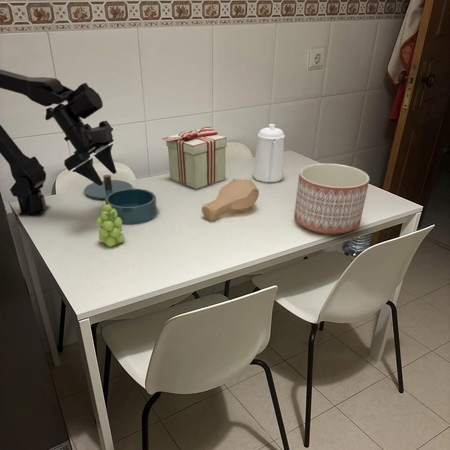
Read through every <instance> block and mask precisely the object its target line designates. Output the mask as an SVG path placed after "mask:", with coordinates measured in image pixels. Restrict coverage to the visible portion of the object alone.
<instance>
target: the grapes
mask: <svg viewBox="0 0 450 450" xmlns="http://www.w3.org/2000/svg"><path fill="white" fill-rule="evenodd" d="M104 202H105V204H104V205H103V206H102V208H101V209H100V210H99V214H100V215H99V217H97V219H96V225H97V226H98V227H99V230H98V234H99V236H98V240H99V241H100V242H101V243H103V244H105V246H108V247H114V246H118V245H119V244H121V243H123V242H124V240H125V235H124V234H123V233H122V232H121V231H122V230H123V227H122V225H123V224H122V219H121V218H120V217H117V215H118V213H117V211H116V210H115V209H114V208H112V206H111V205H110V204H108V200H105V199H104Z"/></svg>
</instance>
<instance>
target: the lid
mask: <svg viewBox="0 0 450 450" xmlns="http://www.w3.org/2000/svg"><path fill="white" fill-rule="evenodd" d="M102 177H103V178H102V179H103V180H101V181H102V183H103V184H102V185H101V186H99V185H97V184H96V183H94V182H92V183H90V184H87V185H86V186H85V187H84V194H85V195H86V196H88V197H90V198H93V199H97V200H105V199H106V197H107V196H108V195H109V194H111V193H112V192H115V191H118V190H123V189H134V188H133V185H132V184H131V183H130V182H127V181H125V180H119V179H112V176H111V174H104V175H103V176H102Z"/></svg>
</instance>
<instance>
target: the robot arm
mask: <svg viewBox="0 0 450 450" xmlns="http://www.w3.org/2000/svg"><path fill="white" fill-rule="evenodd" d="M0 89H2V90H5V91H10V92H13V93H17V94H20V95H23V96H25V97H27V98H28V99H29V100H30V101H32V102H34V103H35V104H38V105H40V106H42V107H48V108H46V109H45V120H46V121H50V120H51V119H54V121H55V122H56V123H57V125H58V126H59V128H60V129H61V131H62V132H63V134H64V137H63V140H64V141H65V142H68V141H69V143H70V144H71V146H72V147H73V148H74V151H73V154H72V155H70V156H68V157H67V158H66V159H64V162H63V163H64V164H63V165H64V167H65V168H66V170H67V171H68V172H70V171H72V173H77V174H78V175H80V176H82V177H84V178H86V179H87V180H89V181H90V182H92V183H96V184H97V185H99V186H101V185H102V184H103V183H102V181H103V180H102V179H101V177H100V176H99V174H98V171H97V170H96V169H95V167H94V158H93V157H92V158H91V155H92V154H94V155H93V156H94V157H95V159H97V160H98V161H99V162H100V163H101V164H102V165H103V167H105V168H106V170H108V171H109V172H111V174H113V175H115V174H117V168H116V165H115V162H114V158H113V155H112V148H113V146H114V143H113V142H115V141H114V139H113V138H114V136H113V131H114V128H113V127H112V126H111V124H110V123H109V121H107V120H102V121H100V122H99V123H98V126H96V127H91V125H90V124H89V123H84V122H83V120H82V119H84V120H85V119H88V118H89V117H90V116H92V115H94V113H96V112H97V111H99V110H100V109H102V108H103V107H104V106H103V103H104V102H103V100H102V97H101V95H100V94H99V92H96V90H95V89H94V88H92V87H90V86H89V85H88V83H87V82H84V83H81V84H80V85H79V86H78V87H77V88H76V89H75V90H73V89H71V88H70V87H68V86H66V85H63V84H62V82H61V80H59V79H58V78H55V77H45V76H39V77H38V76H35V77H33V76H27V75H22V74H19V73H15V72H12V71H9V70H4V69H1V68H0ZM65 102H67V103H66V104H64V103H65ZM52 105H56V106H54V107H51V106H52ZM0 155H1V156H2V158H3V159H4V160H5V161H6V162H7V164H8V166H9V168H10V173H11V176H12V178H13V180H14V183H13V185H12V186H11V187H10V188H9V191H10V193H11V195H12V196H13V197H16V198H17V202H18V206H19V210H20V211H19V213H18V215H19V216H41V215H43V213H44V212H45V210H46V209H47V208H48V206H47V203H46V199H45V195H44V194H43V193H42V190H41V189H43V188H44V183H45V182H46V180H47V173H46V171H45V167H44V166H43V165H42V164H41V163H40V161H39V160H38V159H37V157H36V156H32V157H29V156H27V155H26V154H24V153H23V151H22V150H21V148H19V146H18V145H17V144H16V142H15V141H14V140H13V139H12V137H11V136H10V135H9V134H8V132H7V131H6V130H5V129H4V127H3V126H2V125H1V124H0Z"/></svg>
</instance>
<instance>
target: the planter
mask: <svg viewBox="0 0 450 450" xmlns="http://www.w3.org/2000/svg"><path fill="white" fill-rule="evenodd" d="M369 183H370V176H369V175H368V174H367V172H365V171H364V170H362V169H359V168H358V167H354V166H351V165H346V164H340V163H326V162H324V163H313V164H309V165H305V166H303V167H302V168H301V169H300V170H299V172H298V181H297V190H296V198H295V204H294V205H295V207H294V215H293V216H294V220H295V221H296V223H297V224H299V225H301V226H302V227H304V229H306V230H307V231H310V232H313V233H316V234H320V235H325V236H326V235H327V236H328V235H329V236H335V235H343V234H346V233H348V232H352V231H355V230H356V229H357V228H358V227H360V225H361V222H362V217H363V212H364V208H365V202H366V199H367V198H366V197H367V193H368V188H369Z"/></svg>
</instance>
